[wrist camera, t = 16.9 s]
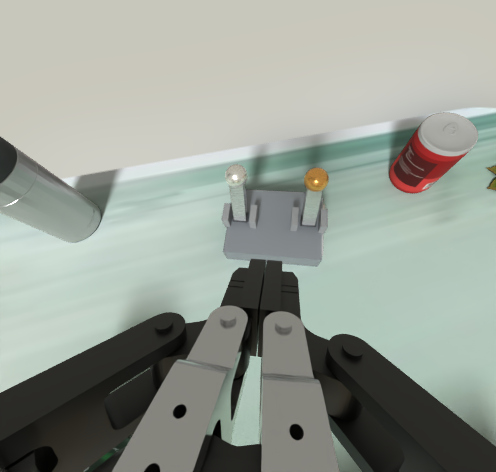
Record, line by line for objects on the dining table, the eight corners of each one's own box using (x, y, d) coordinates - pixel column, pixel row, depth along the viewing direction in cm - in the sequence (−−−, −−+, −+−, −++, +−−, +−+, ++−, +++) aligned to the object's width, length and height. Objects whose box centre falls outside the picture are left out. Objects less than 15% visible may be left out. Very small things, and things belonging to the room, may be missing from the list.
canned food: (434, 165, 45) (481, 117, 35) (428, 200, 43) (476, 159, 33) (392, 155, 47) (424, 107, 37) (383, 188, 45) (416, 146, 34)
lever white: (230, 226, 40) (221, 172, 32) (233, 213, 42) (226, 159, 34) (249, 228, 39) (245, 173, 31) (251, 214, 41) (248, 160, 33)
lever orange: (297, 231, 38) (305, 176, 30) (297, 217, 40) (305, 162, 32) (317, 232, 38) (331, 177, 30) (317, 218, 40) (329, 163, 32)
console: (225, 258, 43) (217, 246, 37) (234, 199, 47) (228, 180, 41) (320, 266, 40) (329, 255, 34) (321, 204, 45) (328, 184, 39)
